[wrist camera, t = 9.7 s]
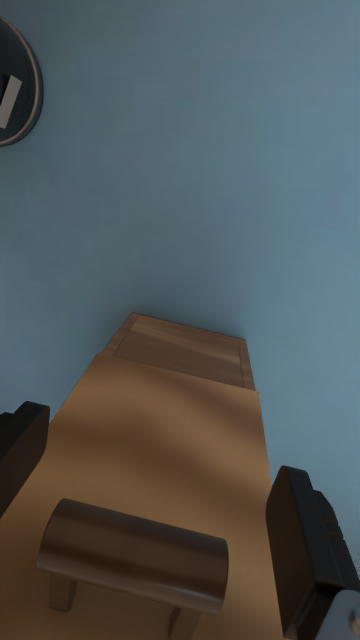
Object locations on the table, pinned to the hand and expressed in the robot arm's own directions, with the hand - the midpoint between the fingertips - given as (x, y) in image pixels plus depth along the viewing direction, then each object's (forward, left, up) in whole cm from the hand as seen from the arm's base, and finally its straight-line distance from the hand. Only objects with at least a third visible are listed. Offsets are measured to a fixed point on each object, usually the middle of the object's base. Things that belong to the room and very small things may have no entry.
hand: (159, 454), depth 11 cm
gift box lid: (0, -5, -4) cm, 6 cm away
